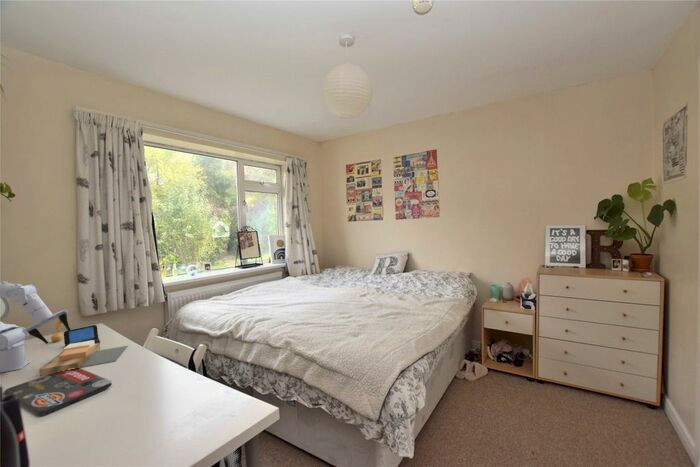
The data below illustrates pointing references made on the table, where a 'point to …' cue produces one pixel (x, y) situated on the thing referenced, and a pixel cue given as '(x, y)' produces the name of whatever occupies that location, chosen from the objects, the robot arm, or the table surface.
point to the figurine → (57, 336)
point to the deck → (66, 362)
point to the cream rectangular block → (79, 345)
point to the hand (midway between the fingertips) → (58, 336)
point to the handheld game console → (81, 335)
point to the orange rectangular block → (75, 353)
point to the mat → (104, 356)
